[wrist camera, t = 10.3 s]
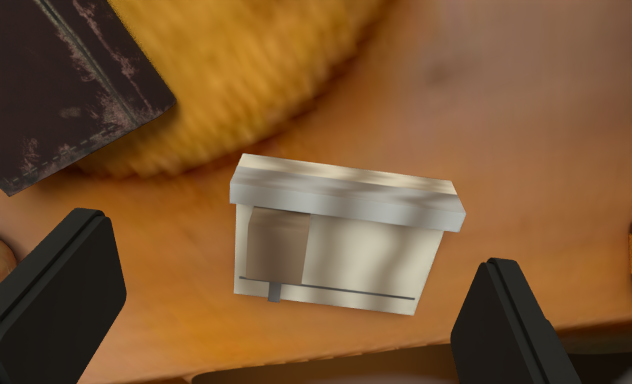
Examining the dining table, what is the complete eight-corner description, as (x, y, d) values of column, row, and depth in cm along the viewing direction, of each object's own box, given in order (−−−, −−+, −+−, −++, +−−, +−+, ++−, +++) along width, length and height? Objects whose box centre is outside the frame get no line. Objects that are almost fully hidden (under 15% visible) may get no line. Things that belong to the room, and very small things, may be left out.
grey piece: (450, 180, 39) (466, 213, 35) (410, 298, 48) (417, 337, 43) (243, 153, 39) (230, 182, 34) (238, 277, 47) (227, 314, 43)
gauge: (312, 199, 38) (308, 232, 34) (298, 292, 44) (294, 329, 40) (258, 192, 38) (248, 224, 33) (252, 286, 44) (243, 323, 40)
